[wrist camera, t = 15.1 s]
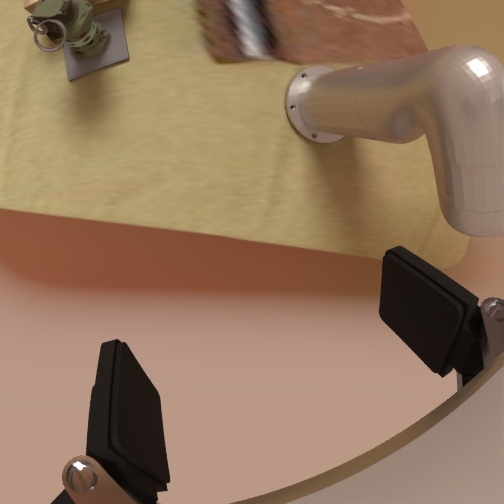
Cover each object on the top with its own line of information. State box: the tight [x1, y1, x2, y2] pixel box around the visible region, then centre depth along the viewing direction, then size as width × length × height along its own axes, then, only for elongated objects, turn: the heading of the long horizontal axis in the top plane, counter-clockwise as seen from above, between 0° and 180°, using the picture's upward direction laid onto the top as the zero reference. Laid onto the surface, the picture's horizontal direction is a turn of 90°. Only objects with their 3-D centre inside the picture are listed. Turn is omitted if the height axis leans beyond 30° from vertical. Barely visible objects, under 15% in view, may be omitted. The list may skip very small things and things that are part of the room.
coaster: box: [63, 7, 129, 81], centre depth 27 cm, size 9×9×1 cm
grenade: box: [27, 0, 110, 61], centre depth 20 cm, size 7×7×15 cm
